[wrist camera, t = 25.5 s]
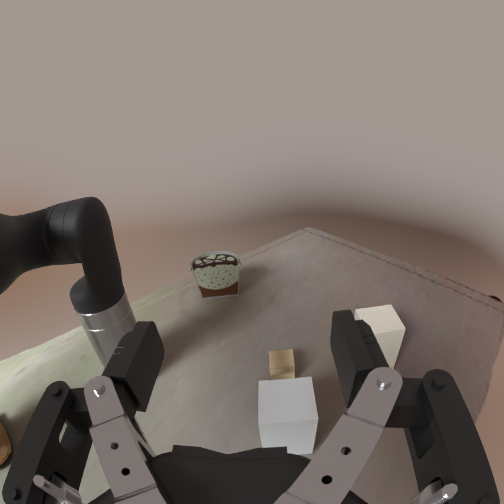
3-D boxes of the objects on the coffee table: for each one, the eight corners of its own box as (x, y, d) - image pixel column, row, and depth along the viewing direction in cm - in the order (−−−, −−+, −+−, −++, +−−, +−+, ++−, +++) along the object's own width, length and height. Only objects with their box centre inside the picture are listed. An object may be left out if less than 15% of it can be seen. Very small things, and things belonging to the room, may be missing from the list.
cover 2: (357, 378, 42) (367, 335, 38) (349, 352, 48) (355, 309, 44) (392, 371, 42) (405, 328, 38) (381, 347, 48) (391, 304, 44)
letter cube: (270, 383, 44) (269, 367, 43) (270, 365, 48) (268, 350, 46) (294, 381, 44) (294, 365, 42) (292, 363, 48) (292, 348, 46)
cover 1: (264, 456, 31) (258, 423, 27) (263, 420, 37) (258, 380, 33) (312, 453, 31) (318, 418, 27) (307, 416, 37) (311, 376, 33)
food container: (244, 282, 76) (239, 247, 72) (245, 294, 70) (240, 258, 66) (198, 287, 76) (191, 253, 71) (196, 299, 70) (188, 264, 66)
